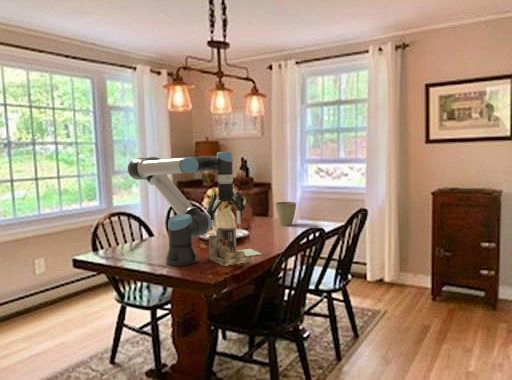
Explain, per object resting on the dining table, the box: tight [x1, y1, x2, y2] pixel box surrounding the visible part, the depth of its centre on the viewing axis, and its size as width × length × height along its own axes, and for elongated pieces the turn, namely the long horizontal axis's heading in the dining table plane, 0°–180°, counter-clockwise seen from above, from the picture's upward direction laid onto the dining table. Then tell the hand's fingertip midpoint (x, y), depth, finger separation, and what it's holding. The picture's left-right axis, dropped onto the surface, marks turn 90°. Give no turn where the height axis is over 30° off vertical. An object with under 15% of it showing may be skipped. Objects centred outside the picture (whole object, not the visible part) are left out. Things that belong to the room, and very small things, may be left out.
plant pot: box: [275, 201, 297, 227], centre depth 314 cm, size 15×15×16 cm
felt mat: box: [237, 248, 262, 257], centre depth 235 cm, size 12×13×1 cm
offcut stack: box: [222, 250, 245, 260], centre depth 216 cm, size 11×4×5 cm, turn 120°
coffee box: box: [215, 227, 237, 259], centre depth 222 cm, size 9×6×16 cm
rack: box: [208, 234, 250, 267], centre depth 221 cm, size 14×17×12 cm
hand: (226, 225), depth 221 cm, fingers open, 13 cm apart
